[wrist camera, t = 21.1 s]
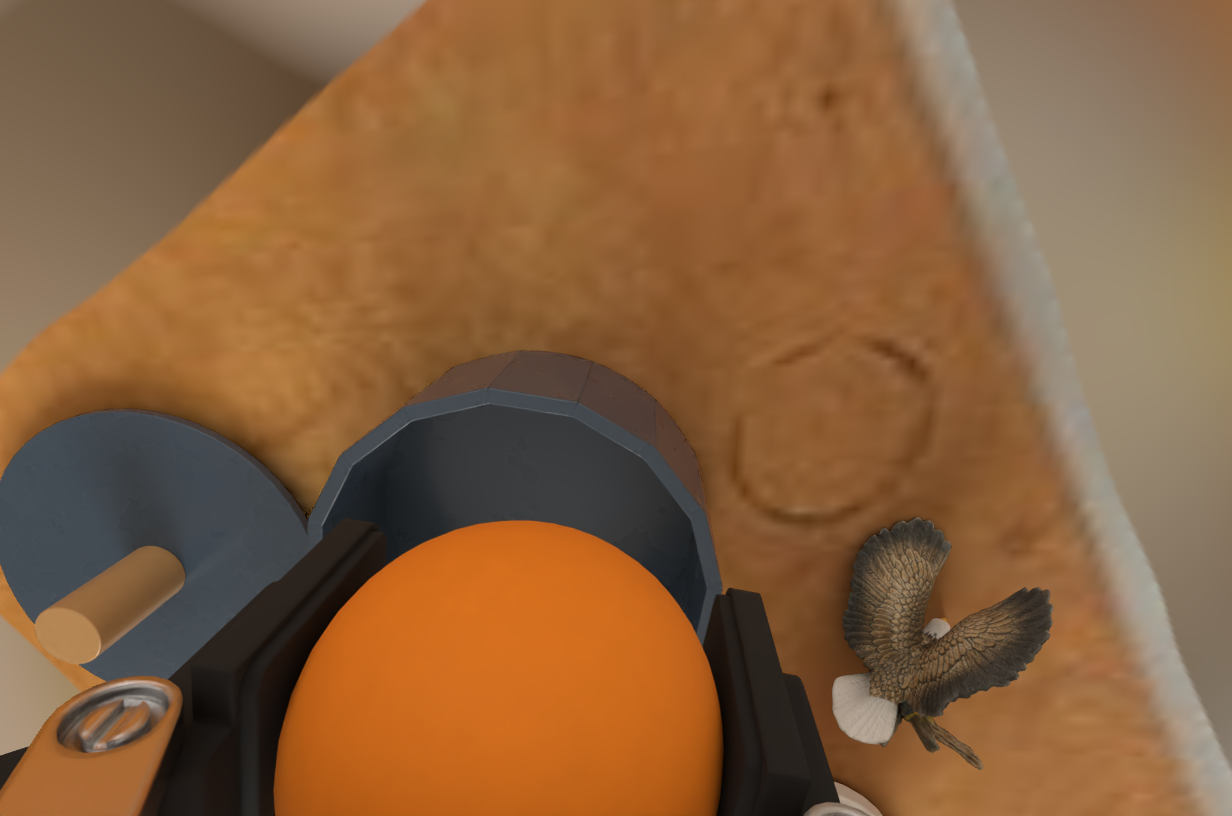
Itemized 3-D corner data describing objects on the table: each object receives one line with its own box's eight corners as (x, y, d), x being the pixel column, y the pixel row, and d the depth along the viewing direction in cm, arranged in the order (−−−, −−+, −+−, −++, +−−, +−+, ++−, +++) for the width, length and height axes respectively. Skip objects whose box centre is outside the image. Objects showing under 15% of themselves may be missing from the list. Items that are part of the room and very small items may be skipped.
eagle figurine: (996, 706, 30) (1072, 566, 26) (967, 830, 25) (1055, 680, 21) (842, 627, 34) (885, 493, 30) (789, 719, 29) (832, 574, 25)
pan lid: (331, 712, 34) (266, 815, 28) (37, 663, 34) (-88, 756, 29) (334, 434, 29) (255, 490, 23) (-10, 378, 29) (-174, 420, 23)
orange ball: (672, 759, 13) (686, 1205, 7) (382, 706, 13) (159, 1105, 7) (738, 493, 11) (830, 795, 5) (401, 433, 11) (123, 666, 5)
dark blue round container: (672, 670, 32) (677, 780, 26) (373, 621, 32) (307, 719, 26) (735, 381, 27) (760, 431, 21) (384, 324, 27) (306, 358, 21)
